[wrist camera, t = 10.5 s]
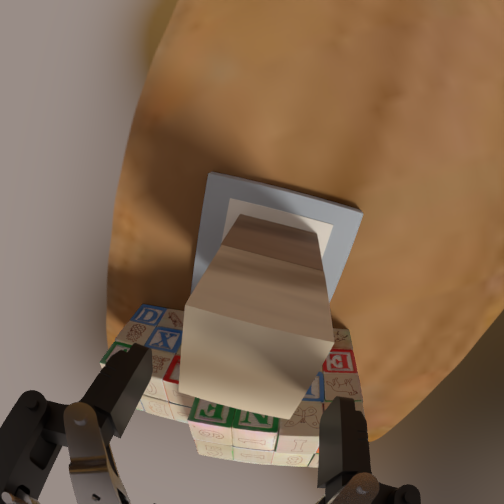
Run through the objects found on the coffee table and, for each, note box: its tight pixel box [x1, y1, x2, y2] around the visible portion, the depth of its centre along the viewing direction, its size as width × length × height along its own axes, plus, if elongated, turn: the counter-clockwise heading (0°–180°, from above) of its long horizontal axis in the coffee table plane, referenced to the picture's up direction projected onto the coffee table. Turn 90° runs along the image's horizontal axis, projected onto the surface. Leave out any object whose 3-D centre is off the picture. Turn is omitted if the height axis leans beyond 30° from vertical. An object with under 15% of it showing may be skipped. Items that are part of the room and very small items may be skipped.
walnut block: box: [220, 214, 324, 271], centre depth 20 cm, size 6×6×6 cm
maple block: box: [179, 245, 335, 419], centre depth 15 cm, size 6×6×6 cm
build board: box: [191, 172, 363, 303], centre depth 23 cm, size 11×12×1 cm
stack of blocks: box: [100, 304, 365, 467], centre depth 23 cm, size 21×6×12 cm, turn 88°
